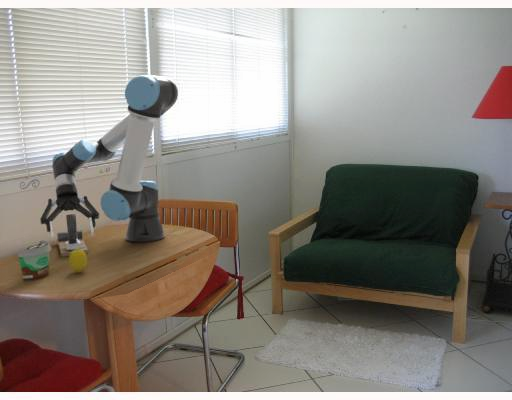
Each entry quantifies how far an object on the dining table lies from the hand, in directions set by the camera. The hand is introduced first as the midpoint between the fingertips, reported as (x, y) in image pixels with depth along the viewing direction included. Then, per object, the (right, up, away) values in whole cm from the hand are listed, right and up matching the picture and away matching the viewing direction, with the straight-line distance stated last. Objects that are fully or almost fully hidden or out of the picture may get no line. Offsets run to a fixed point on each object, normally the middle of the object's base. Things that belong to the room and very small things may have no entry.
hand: (72, 236), depth 193 cm
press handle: (-1, -4, +3) cm, 5 cm away
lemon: (+9, -10, -20) cm, 24 cm away
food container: (-2, -11, -23) cm, 26 cm away
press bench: (-3, -5, +9) cm, 11 cm away
